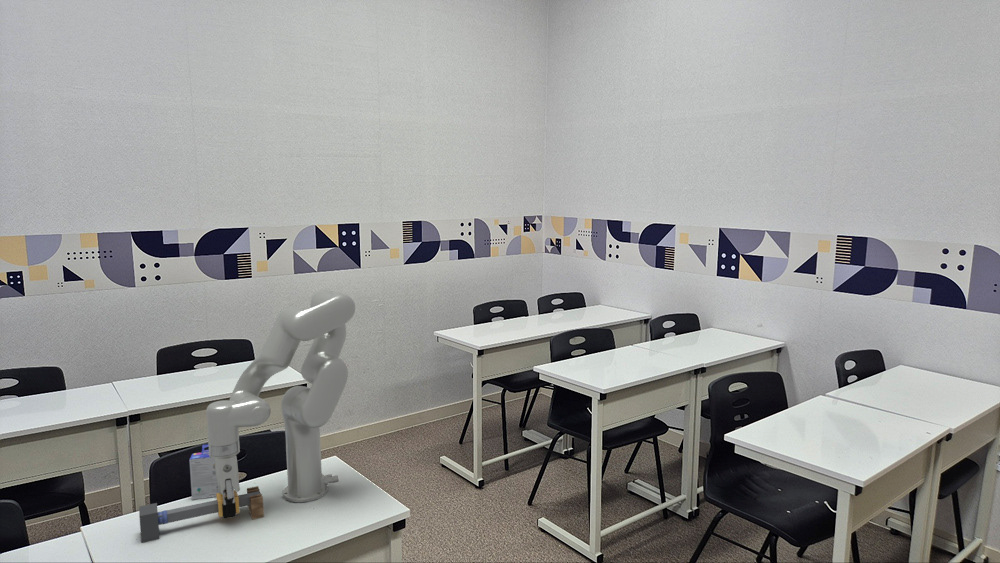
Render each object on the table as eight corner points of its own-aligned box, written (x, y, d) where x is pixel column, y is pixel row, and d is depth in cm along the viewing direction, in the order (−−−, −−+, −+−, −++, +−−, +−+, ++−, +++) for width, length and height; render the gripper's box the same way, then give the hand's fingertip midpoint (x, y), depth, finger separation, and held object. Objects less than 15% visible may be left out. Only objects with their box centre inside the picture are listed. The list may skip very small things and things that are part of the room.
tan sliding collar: (236, 505, 178) (236, 489, 178) (239, 512, 174) (238, 496, 173) (217, 509, 176) (216, 493, 175) (219, 517, 171) (218, 501, 171)
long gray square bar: (260, 500, 180) (259, 488, 180) (262, 504, 177) (261, 493, 177) (149, 523, 167) (148, 511, 167) (149, 529, 164) (148, 517, 164)
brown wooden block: (259, 504, 183) (258, 485, 182) (264, 517, 175) (263, 497, 175) (247, 506, 181) (246, 488, 181) (252, 519, 174) (251, 500, 173)
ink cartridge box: (230, 487, 193) (227, 440, 192) (228, 495, 188) (226, 447, 186) (194, 492, 191) (191, 444, 189) (191, 500, 185) (188, 451, 183)
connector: (164, 527, 170) (162, 501, 169) (164, 537, 165) (162, 511, 164) (141, 532, 168) (139, 506, 167) (141, 542, 163) (139, 516, 162)
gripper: (243, 456, 167) (247, 523, 169) (235, 435, 182) (238, 497, 184) (212, 461, 163) (216, 530, 166) (205, 440, 178) (210, 503, 180)
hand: (228, 512), depth 175 cm, fingers closed on tan sliding collar, 5 cm apart
